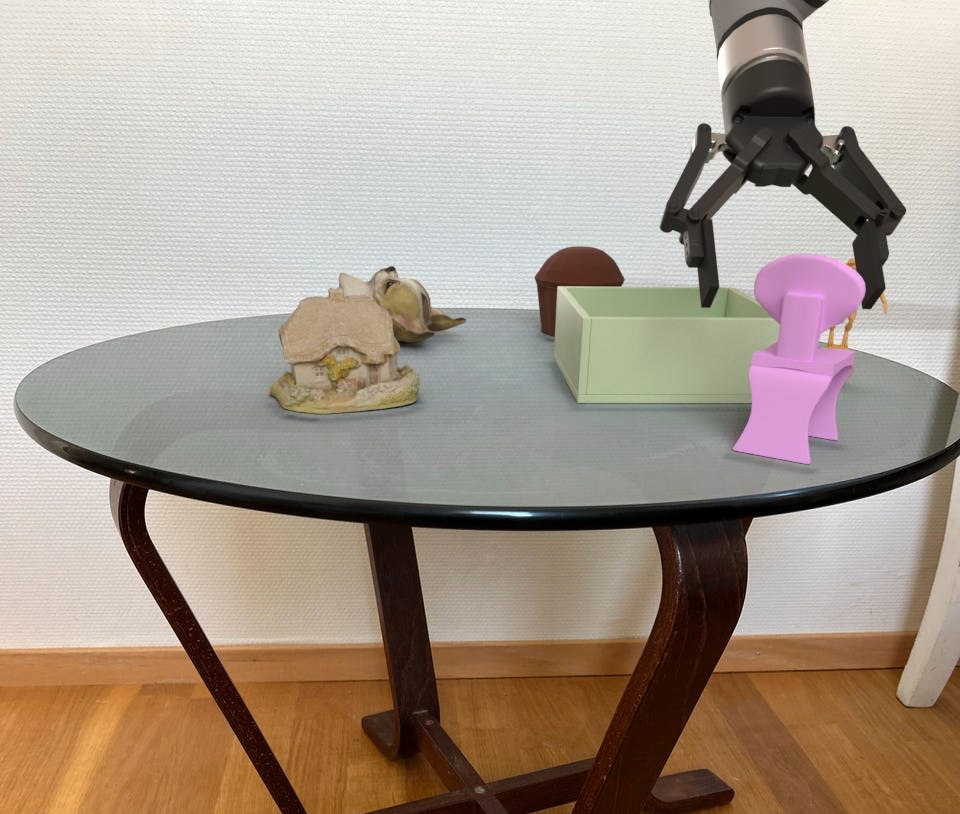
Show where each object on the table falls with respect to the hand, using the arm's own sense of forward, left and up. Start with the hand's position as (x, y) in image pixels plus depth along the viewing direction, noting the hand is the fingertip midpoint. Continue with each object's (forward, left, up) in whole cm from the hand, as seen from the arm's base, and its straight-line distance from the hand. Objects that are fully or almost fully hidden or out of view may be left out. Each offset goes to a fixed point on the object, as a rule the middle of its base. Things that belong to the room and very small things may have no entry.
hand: (792, 298), depth 77 cm
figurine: (-12, -18, -11) cm, 24 cm away
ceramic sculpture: (+34, -39, -11) cm, 53 cm away
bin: (+6, -19, -11) cm, 23 cm away
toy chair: (0, +4, -11) cm, 12 cm away
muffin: (+11, -45, -11) cm, 48 cm away
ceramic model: (+38, -11, -11) cm, 41 cm away
